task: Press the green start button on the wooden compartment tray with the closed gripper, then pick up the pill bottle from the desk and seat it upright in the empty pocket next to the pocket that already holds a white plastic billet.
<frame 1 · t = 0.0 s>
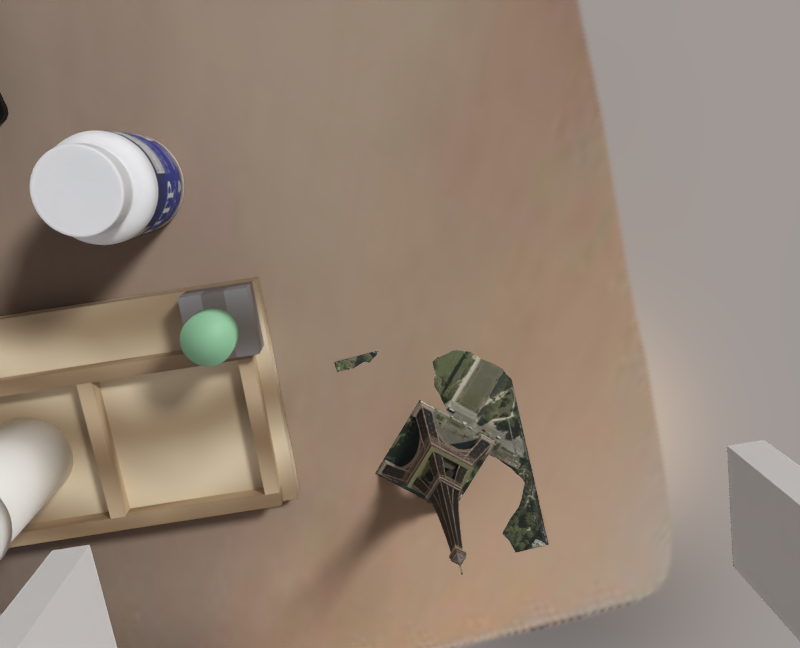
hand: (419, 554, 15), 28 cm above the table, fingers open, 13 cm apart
start button: (214, 332, 38), point 4 cm above the table, slide at 0.0 cm
wooden compartment tray: (108, 413, 43), on the table
pill bottle: (138, 183, 41), on the table
eiffel tower figurine: (443, 453, 46), on the table
seated billet: (29, 457, 43), point 1 cm above the table, touching wooden compartment tray
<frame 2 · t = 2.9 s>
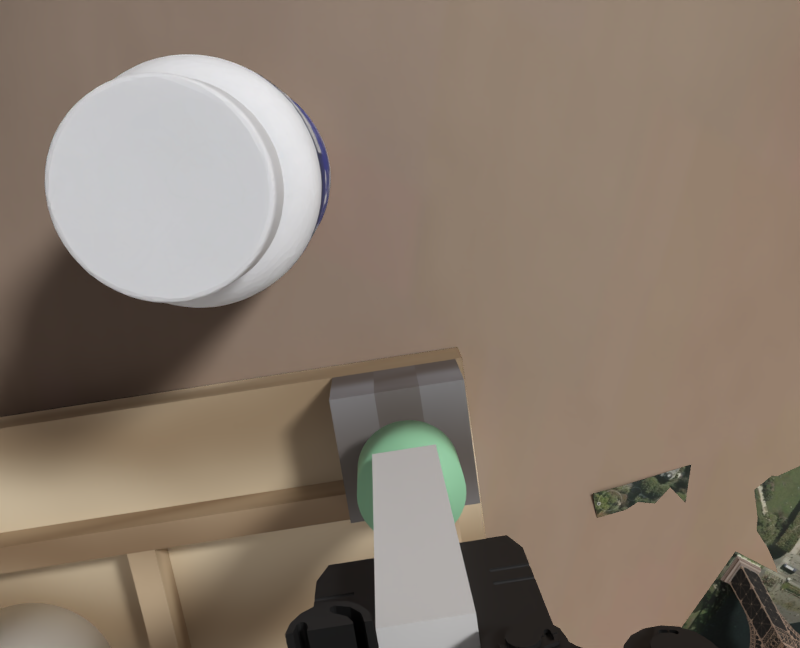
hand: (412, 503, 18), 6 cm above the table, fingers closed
start button: (407, 464, 20), point 4 cm above the table, slide at -0.5 cm, touching gripper
wooden compartment tray: (177, 585, 24), on the table
pill bottle: (242, 175, 22), on the table
eiffel tower figurine: (757, 633, 27), on the table
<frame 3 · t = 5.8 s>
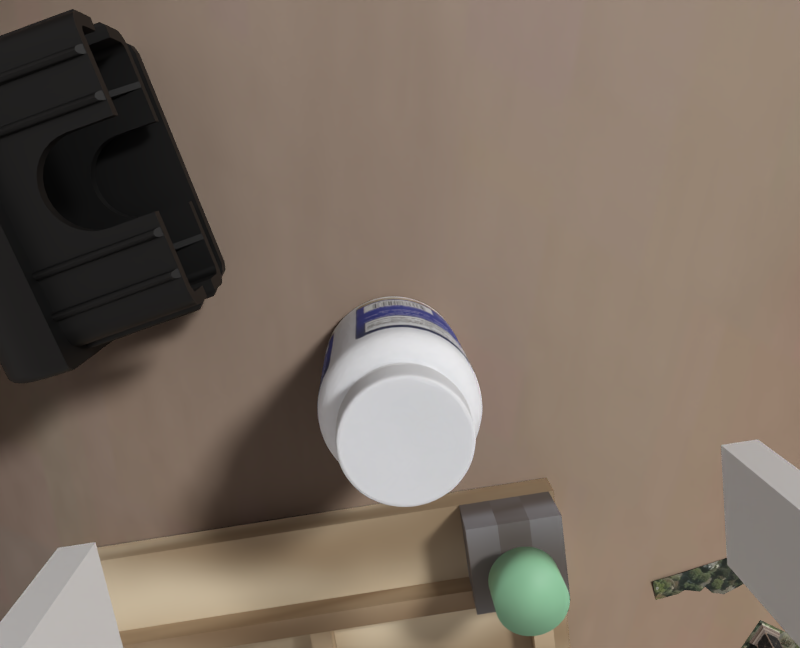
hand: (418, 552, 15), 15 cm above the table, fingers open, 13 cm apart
start button: (522, 575, 28), point 4 cm above the table, slide at -0.6 cm
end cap: (96, 193, 28), on the table
pill bottle: (393, 357, 30), on the table
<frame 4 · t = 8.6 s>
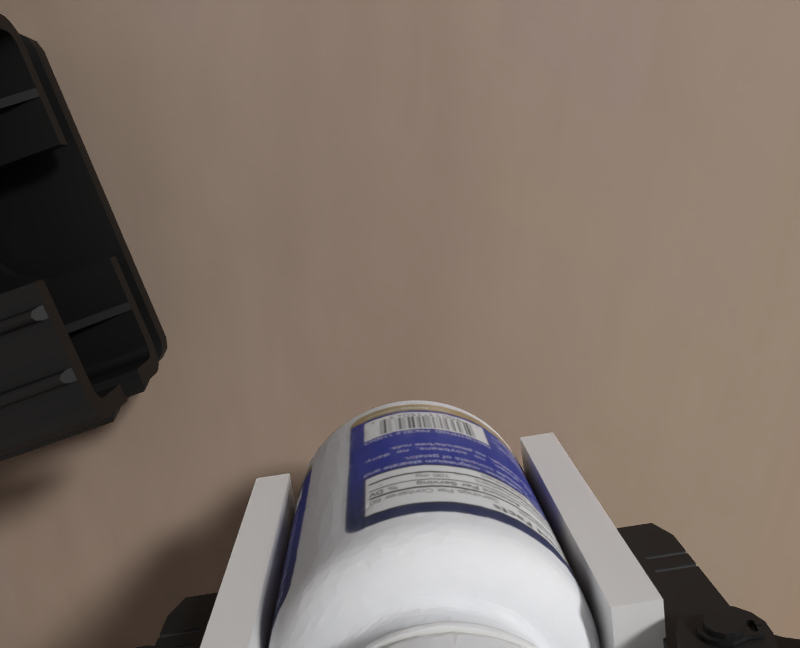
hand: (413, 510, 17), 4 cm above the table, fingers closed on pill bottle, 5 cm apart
pill bottle: (413, 497, 18), point 4 cm above the table, touching gripper
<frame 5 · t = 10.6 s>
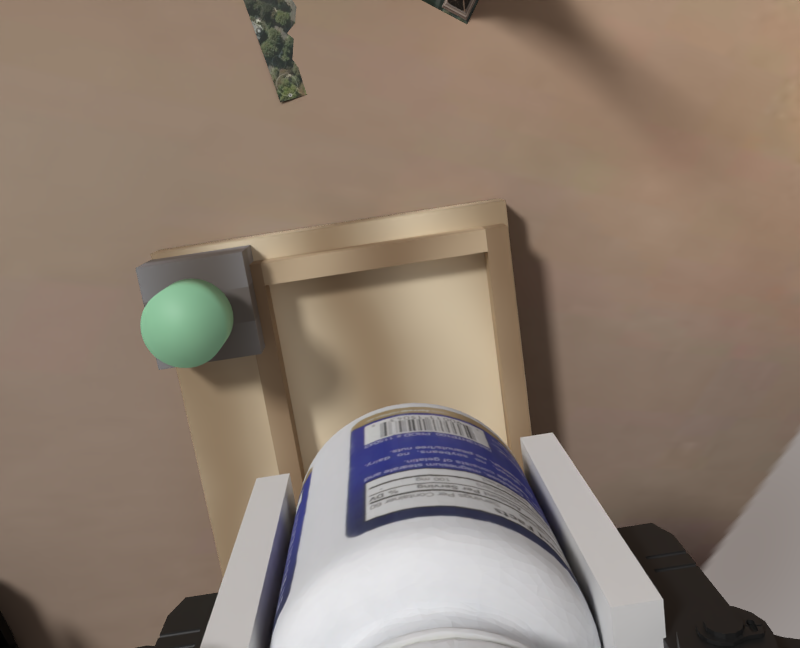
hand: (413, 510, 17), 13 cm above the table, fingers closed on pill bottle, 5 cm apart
start button: (195, 315, 25), point 4 cm above the table, slide at -0.6 cm
wooden compartment tray: (370, 467, 31), on the table
pill bottle: (414, 500, 18), point 12 cm above the table, touching gripper
when the fingers open (3 cm above the table, at t = 12.6 s): pill bottle drops 1 cm, resting on wooden compartment tray.
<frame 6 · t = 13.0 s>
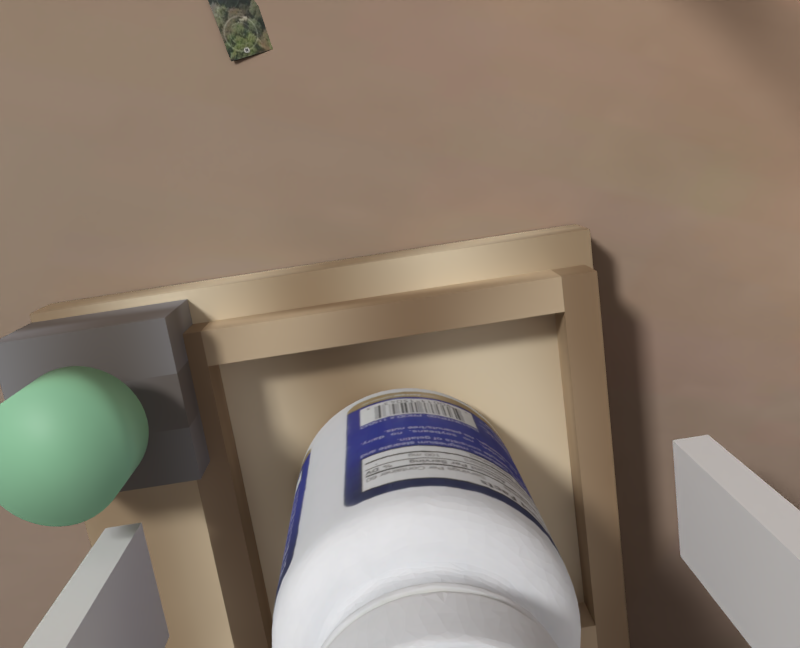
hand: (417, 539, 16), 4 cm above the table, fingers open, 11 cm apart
start button: (86, 424, 15), point 4 cm above the table, slide at -0.6 cm
wooden compartment tray: (376, 620, 21), on the table
pill bottle: (406, 480, 19), point 1 cm above the table, touching wooden compartment tray
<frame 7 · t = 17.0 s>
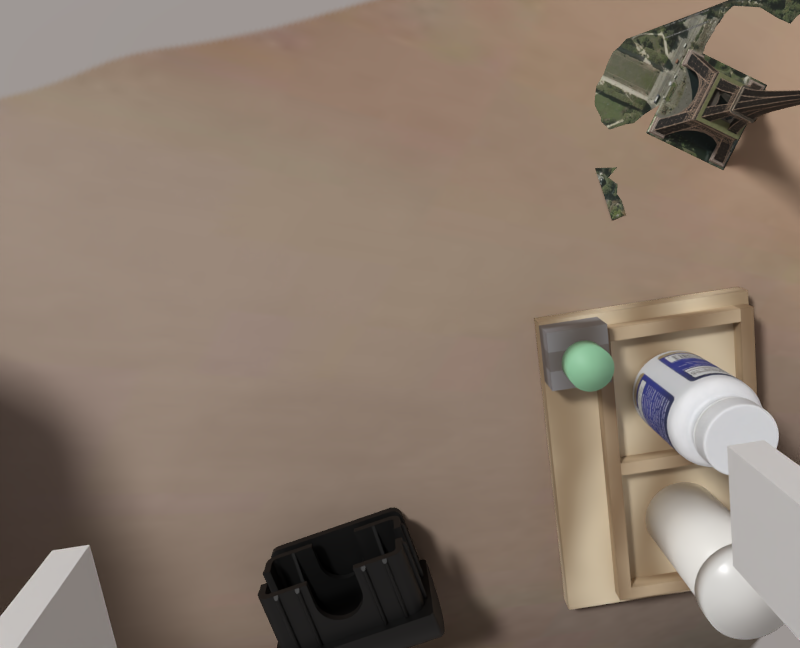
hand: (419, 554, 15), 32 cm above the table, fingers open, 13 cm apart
start button: (582, 360, 44), point 4 cm above the table, slide at -0.6 cm
wooden compartment tray: (647, 450, 49), on the table
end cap: (352, 570, 51), on the table
pill bottle: (671, 388, 47), point 1 cm above the table, touching wooden compartment tray
eiffel tower figurine: (701, 101, 45), on the table
seated billet: (681, 515, 49), point 1 cm above the table, touching wooden compartment tray
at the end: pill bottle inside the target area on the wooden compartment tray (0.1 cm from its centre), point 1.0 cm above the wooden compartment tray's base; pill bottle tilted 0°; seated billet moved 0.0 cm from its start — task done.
